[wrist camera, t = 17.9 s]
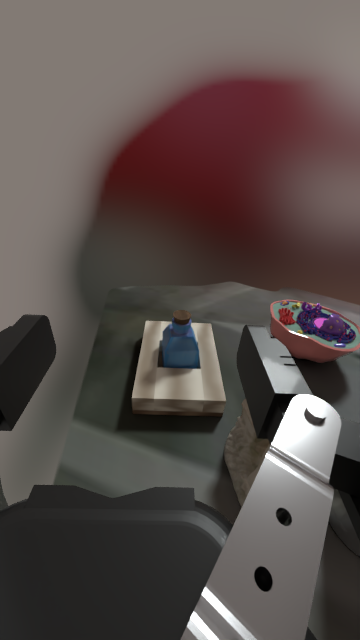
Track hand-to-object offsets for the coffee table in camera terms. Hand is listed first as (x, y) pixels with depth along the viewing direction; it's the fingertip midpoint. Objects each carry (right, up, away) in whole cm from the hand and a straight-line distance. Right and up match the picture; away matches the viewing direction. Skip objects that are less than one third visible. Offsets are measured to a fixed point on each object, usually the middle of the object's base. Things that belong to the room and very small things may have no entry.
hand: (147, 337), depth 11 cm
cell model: (+30, -6, +49) cm, 58 cm away
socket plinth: (+1, -9, +41) cm, 42 cm away
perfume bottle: (+1, -9, +40) cm, 41 cm away
